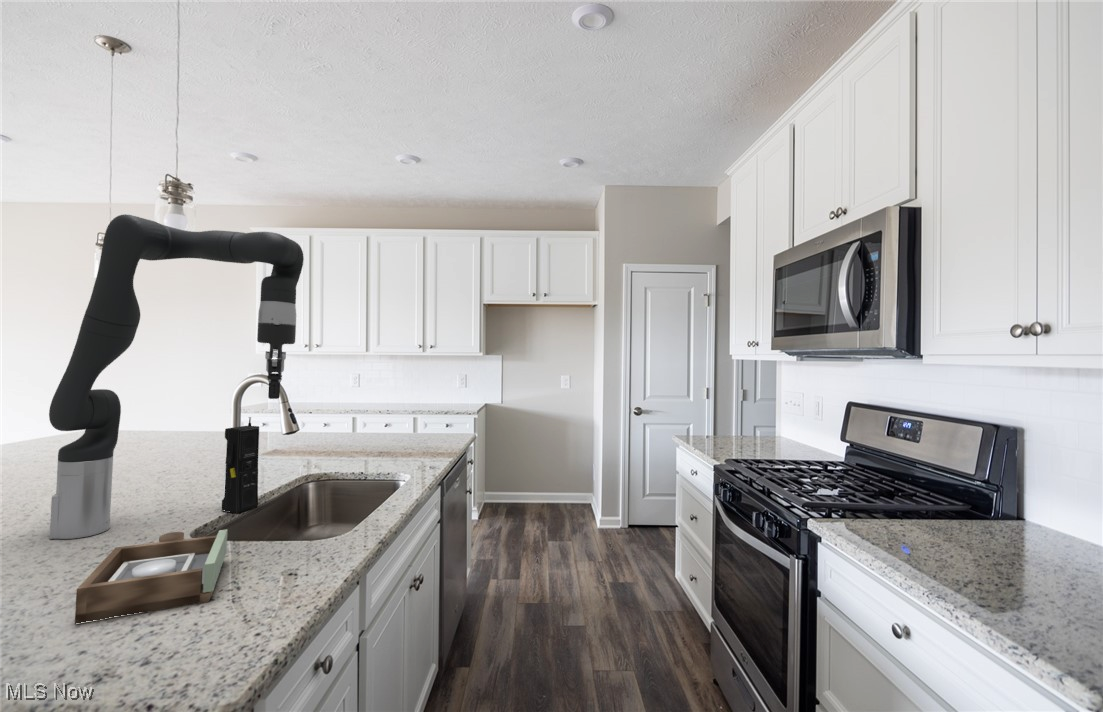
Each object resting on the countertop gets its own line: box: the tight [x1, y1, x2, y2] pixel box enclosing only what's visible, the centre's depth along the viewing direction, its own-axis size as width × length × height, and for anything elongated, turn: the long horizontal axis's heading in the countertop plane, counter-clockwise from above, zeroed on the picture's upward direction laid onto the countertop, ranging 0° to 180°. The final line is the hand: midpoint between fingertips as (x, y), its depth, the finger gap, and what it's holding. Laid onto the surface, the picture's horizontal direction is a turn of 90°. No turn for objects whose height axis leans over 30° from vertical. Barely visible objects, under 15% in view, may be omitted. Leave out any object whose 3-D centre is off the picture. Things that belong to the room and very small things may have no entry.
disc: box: [132, 559, 176, 578], centre depth 84 cm, size 6×6×2 cm
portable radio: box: [221, 416, 260, 514], centre depth 129 cm, size 8×6×25 cm
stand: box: [158, 531, 185, 542], centre depth 96 cm, size 4×4×5 cm
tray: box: [108, 528, 228, 593], centre depth 85 cm, size 16×18×5 cm
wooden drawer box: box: [74, 534, 217, 625], centre depth 85 cm, size 17×18×6 cm
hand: (273, 398), depth 107 cm, fingers closed
